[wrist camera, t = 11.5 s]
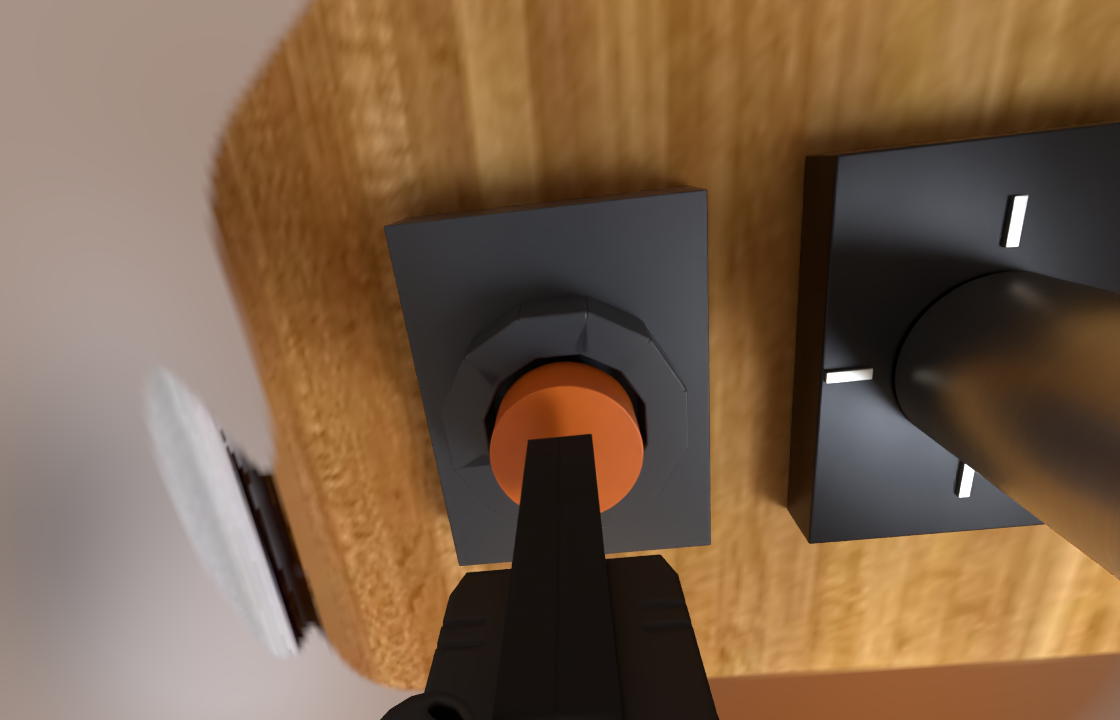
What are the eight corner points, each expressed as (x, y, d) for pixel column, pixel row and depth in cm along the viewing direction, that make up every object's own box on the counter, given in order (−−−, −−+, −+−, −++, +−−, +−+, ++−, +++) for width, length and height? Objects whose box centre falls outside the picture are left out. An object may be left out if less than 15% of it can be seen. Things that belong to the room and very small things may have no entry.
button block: (405, 217, 17) (359, 234, 13) (689, 185, 16) (727, 192, 13) (469, 526, 21) (448, 606, 17) (696, 507, 20) (726, 584, 17)
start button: (487, 368, 15) (477, 394, 13) (630, 353, 14) (639, 378, 13) (507, 489, 16) (501, 526, 14) (638, 477, 16) (647, 514, 14)
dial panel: (804, 155, 16) (839, 154, 14) (1147, 115, 16) (1235, 108, 13) (786, 509, 20) (810, 547, 18) (1051, 487, 20) (1105, 523, 18)
